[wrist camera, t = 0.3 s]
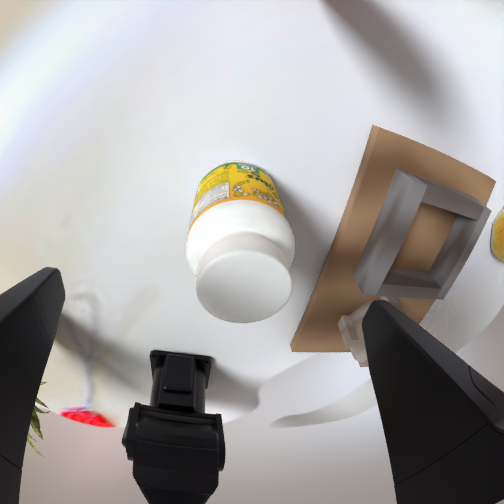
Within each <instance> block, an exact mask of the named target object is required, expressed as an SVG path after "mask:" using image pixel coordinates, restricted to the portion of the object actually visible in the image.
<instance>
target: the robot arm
mask: <svg viewBox="0 0 504 504" xmlns="http://www.w3.org/2000/svg"><path fill="white" fill-rule="evenodd" d="M64 301H65V289H64V285H63V281H62V277H61V273H60V271H59V269H57V268H52V267H45V268H43V269H42V270H40V271H38V272H36V273H35V274H33V275H31V276H30V277H28V278H26V279H25V280H23V281H21V282H20V283H18V284H16V285H15V286H13V287H12V288H10V289H8V290H7V291H5V292H4V293H2V294H1V295H0V504H19V493H20V483H21V474H22V470H21V469H22V466H23V459H24V452H25V447H26V441H27V436H28V431H29V426H30V422H31V418H32V413H33V409H34V405H35V401H36V398H37V394H38V390H39V387H40V383H41V380H42V376H43V373H44V370H45V367H46V364H47V361H48V358H49V355H50V352H51V348H52V345H53V342H54V338H55V334H56V330H57V326H58V322H59V318H60V315H61V311H62V308H63V304H64ZM362 332H363V337H364V343H365V348H366V354H367V361H368V366H369V371H370V375H371V379H372V383H373V387H374V391H375V395H376V399H377V403H378V407H379V411H380V416H381V420H382V424H383V429H384V434H385V438H386V443H387V448H388V453H389V458H390V464H391V468H392V474H393V480H394V484H395V485H394V487H395V494H396V500H397V504H504V392H503V391H501V390H500V389H499V388H497V387H496V386H495V385H493V384H492V383H491V382H489V381H488V380H487V379H486V378H484V377H483V376H482V375H480V374H479V373H478V372H477V371H476V370H474V369H473V368H472V367H471V366H469V365H468V364H467V363H466V362H465V361H463V360H462V359H461V358H460V357H458V356H457V355H456V354H455V353H454V352H452V351H451V350H450V349H449V348H447V347H446V346H445V345H444V344H442V343H441V342H440V341H438V340H437V339H436V338H435V337H433V336H432V335H431V334H430V333H428V332H427V331H426V330H424V329H423V328H422V327H421V326H419V325H418V324H417V323H415V322H414V321H413V320H412V319H410V318H409V317H408V316H406V315H405V314H404V313H402V312H401V311H400V310H398V309H397V308H396V307H395V306H393V305H392V304H391V303H389V302H388V301H386V300H373V301H372V302H371V304H370V306H369V308H368V310H367V312H366V313H365V315H364V317H363V319H362ZM150 361H151V369H152V377H153V386H152V393H151V400H150V406H149V405H143V404H141V403H137V402H135V405H134V407H133V408H130V409H129V416H128V421H127V425H126V428H125V431H124V434H123V438H122V444H123V446H124V447H125V448H126V452H127V457H128V460H131V461H133V476H134V479H135V480H136V482H137V484H138V486H139V487H140V489H141V491H142V493H143V495H144V496H145V498H146V500H147V501H148V503H149V504H205V503H206V501H207V500H208V499H209V497H210V496H211V495H212V494H213V493H214V491H215V490H216V488H217V486H218V475H219V473H218V472H219V471H222V470H223V468H224V464H225V441H224V433H223V425H222V417H221V414H206V413H205V389H207V386H208V380H209V374H210V368H211V358H210V357H206V356H195V355H186V354H177V353H169V352H161V351H151V353H150Z"/></svg>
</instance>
